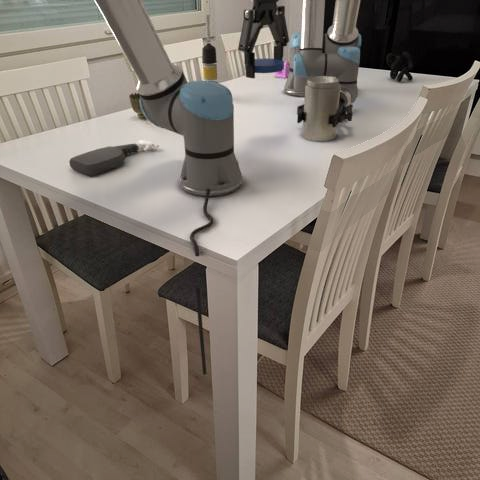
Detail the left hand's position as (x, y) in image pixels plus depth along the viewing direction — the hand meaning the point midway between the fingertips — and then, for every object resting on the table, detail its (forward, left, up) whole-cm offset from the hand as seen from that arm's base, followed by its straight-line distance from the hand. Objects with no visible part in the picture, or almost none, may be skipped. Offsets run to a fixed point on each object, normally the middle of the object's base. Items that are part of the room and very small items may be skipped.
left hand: (264, 74), depth 126 cm
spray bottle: (-28, +34, -19) cm, 48 cm away
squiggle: (+93, -35, -19) cm, 102 cm away
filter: (+40, +34, -19) cm, 56 cm away
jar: (+9, -15, -19) cm, 26 cm away
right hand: (+4, -15, -13) cm, 20 cm away
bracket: (+91, +16, -19) cm, 94 cm away
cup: (+10, +48, -19) cm, 53 cm away
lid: (0, 0, +3) cm, 3 cm away
